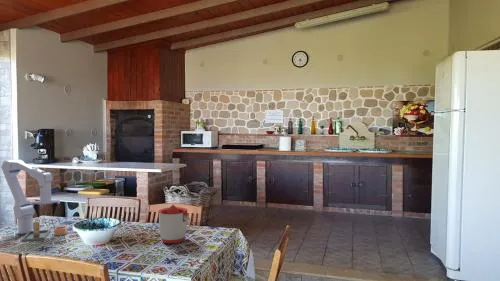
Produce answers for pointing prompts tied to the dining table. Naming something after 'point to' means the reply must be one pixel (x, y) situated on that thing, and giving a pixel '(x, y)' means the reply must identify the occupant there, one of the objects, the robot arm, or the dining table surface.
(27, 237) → the tray
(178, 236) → the citrus juicer
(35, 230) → the dowel
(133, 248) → the dining table surface
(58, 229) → the open box
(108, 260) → the dining table surface
